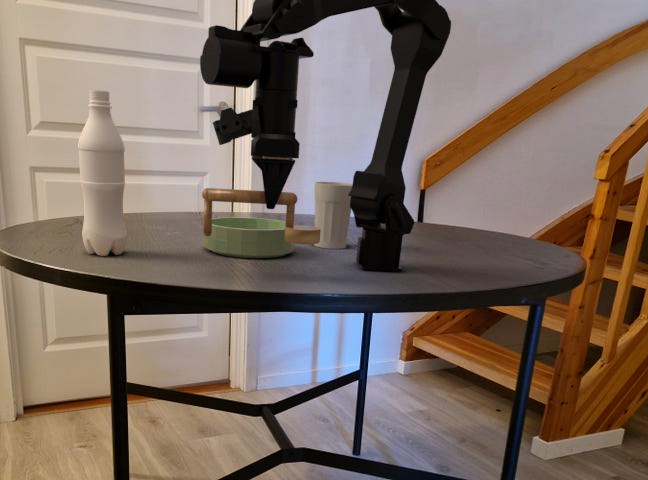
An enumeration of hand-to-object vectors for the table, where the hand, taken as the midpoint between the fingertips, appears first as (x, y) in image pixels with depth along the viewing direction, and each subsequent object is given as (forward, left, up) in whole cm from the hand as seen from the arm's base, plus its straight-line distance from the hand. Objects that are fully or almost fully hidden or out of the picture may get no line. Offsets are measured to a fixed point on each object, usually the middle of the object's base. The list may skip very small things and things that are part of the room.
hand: (270, 208), depth 89 cm
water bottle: (+27, -12, -10) cm, 31 cm away
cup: (-13, -31, -10) cm, 35 cm away
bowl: (+3, -21, -10) cm, 23 cm away
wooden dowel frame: (+1, 0, -4) cm, 5 cm away
